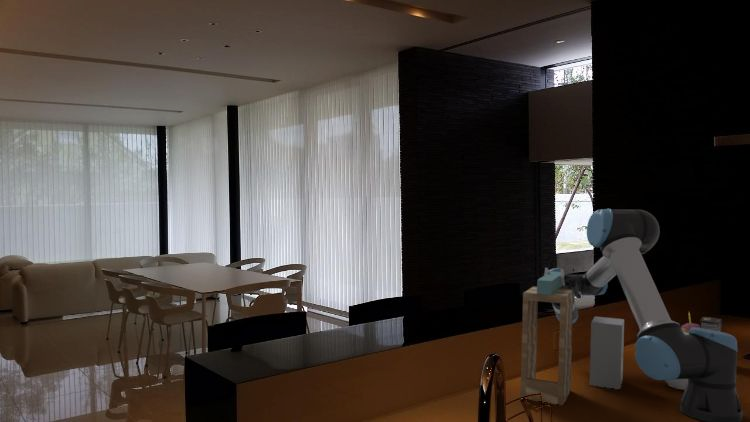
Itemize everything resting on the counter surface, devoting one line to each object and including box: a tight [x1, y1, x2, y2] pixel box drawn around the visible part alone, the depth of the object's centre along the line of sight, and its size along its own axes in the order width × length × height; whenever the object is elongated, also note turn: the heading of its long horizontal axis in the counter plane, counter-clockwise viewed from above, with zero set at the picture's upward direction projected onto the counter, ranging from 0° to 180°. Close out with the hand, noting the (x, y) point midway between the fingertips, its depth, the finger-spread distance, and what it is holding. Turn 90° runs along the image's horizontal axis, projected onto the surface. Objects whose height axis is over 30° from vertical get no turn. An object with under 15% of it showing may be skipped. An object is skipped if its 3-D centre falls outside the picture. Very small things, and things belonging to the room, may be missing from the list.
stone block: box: [589, 316, 625, 390], centre depth 196 cm, size 10×9×20 cm
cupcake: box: [681, 312, 700, 333], centre depth 259 cm, size 9×8×12 cm
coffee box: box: [699, 316, 723, 332], centre depth 222 cm, size 9×6×16 cm
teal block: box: [536, 271, 563, 295], centre depth 187 cm, size 24×4×4 cm, turn 154°
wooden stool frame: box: [520, 285, 573, 406], centre depth 183 cm, size 15×12×31 cm
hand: (553, 272), depth 190 cm, fingers closed on teal block, 4 cm apart
